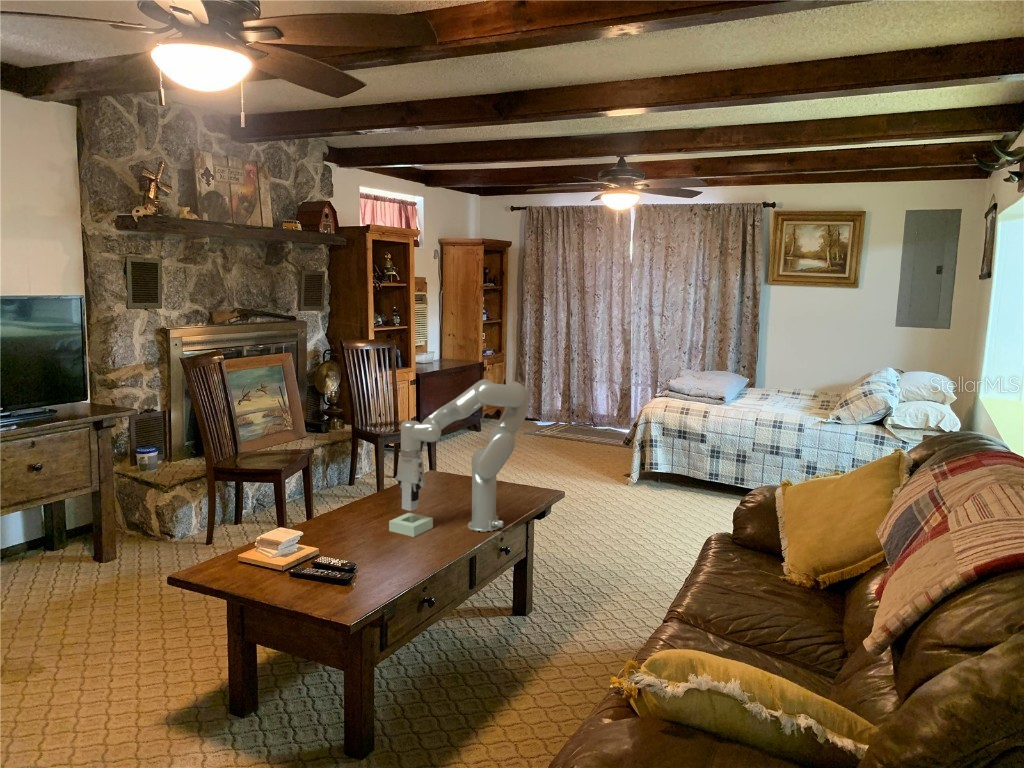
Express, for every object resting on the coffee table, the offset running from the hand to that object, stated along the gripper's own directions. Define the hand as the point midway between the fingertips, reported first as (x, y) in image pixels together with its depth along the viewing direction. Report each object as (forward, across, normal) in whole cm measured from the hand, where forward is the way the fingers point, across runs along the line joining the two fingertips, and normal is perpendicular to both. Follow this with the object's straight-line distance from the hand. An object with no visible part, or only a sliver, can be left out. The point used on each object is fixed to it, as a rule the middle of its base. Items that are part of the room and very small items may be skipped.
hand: (409, 498), depth 278 cm
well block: (+12, 0, 0) cm, 12 cm away
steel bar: (+4, 0, 0) cm, 4 cm away
